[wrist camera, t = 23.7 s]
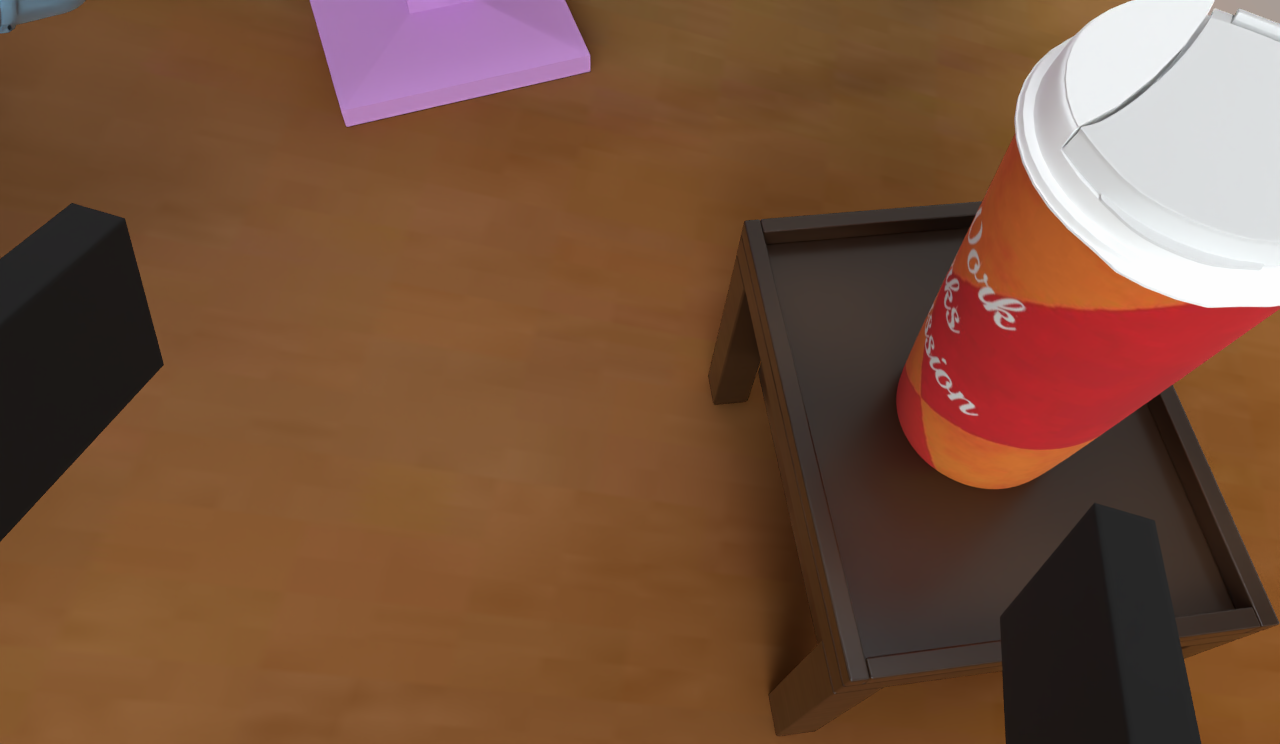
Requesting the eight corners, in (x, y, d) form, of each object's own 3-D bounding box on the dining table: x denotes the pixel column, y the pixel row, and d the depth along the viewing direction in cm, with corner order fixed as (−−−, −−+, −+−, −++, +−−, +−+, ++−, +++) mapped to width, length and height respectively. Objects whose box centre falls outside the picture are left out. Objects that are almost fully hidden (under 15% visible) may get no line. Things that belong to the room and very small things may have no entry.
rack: (707, 374, 44) (743, 219, 33) (973, 349, 45) (1086, 192, 35) (776, 736, 36) (850, 681, 26) (1090, 692, 38) (1280, 624, 27)
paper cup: (914, 278, 33) (1103, -69, 21) (1122, 377, 32) (1457, 66, 20) (823, 450, 30) (985, 159, 18) (1051, 571, 29) (1400, 343, 16)
